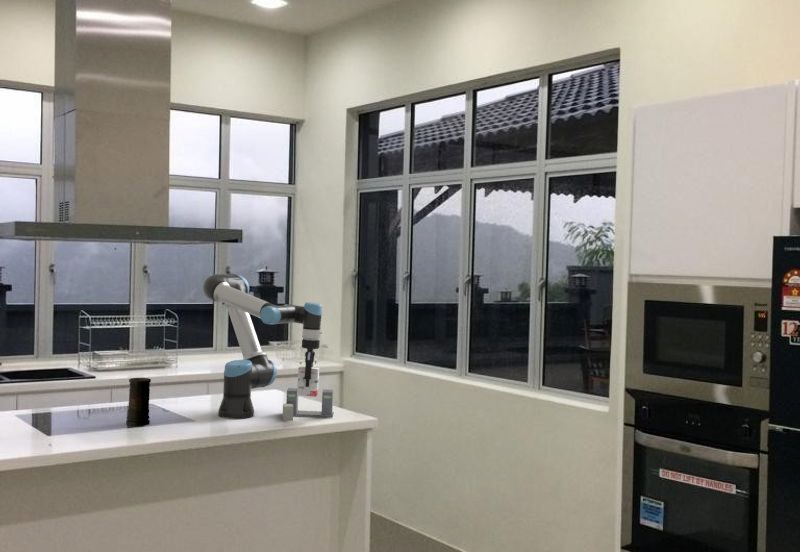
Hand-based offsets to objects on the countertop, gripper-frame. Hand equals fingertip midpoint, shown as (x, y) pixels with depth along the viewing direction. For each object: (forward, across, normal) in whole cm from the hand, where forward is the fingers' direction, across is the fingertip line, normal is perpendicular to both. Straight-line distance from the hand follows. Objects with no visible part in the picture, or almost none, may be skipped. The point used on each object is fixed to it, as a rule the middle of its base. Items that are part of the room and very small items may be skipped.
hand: (307, 392), depth 340 cm
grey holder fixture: (+12, +11, -1) cm, 16 cm away
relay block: (+12, +1, +8) cm, 14 cm away
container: (+13, -20, +65) cm, 69 cm away
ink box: (+1, 0, 0) cm, 1 cm away
